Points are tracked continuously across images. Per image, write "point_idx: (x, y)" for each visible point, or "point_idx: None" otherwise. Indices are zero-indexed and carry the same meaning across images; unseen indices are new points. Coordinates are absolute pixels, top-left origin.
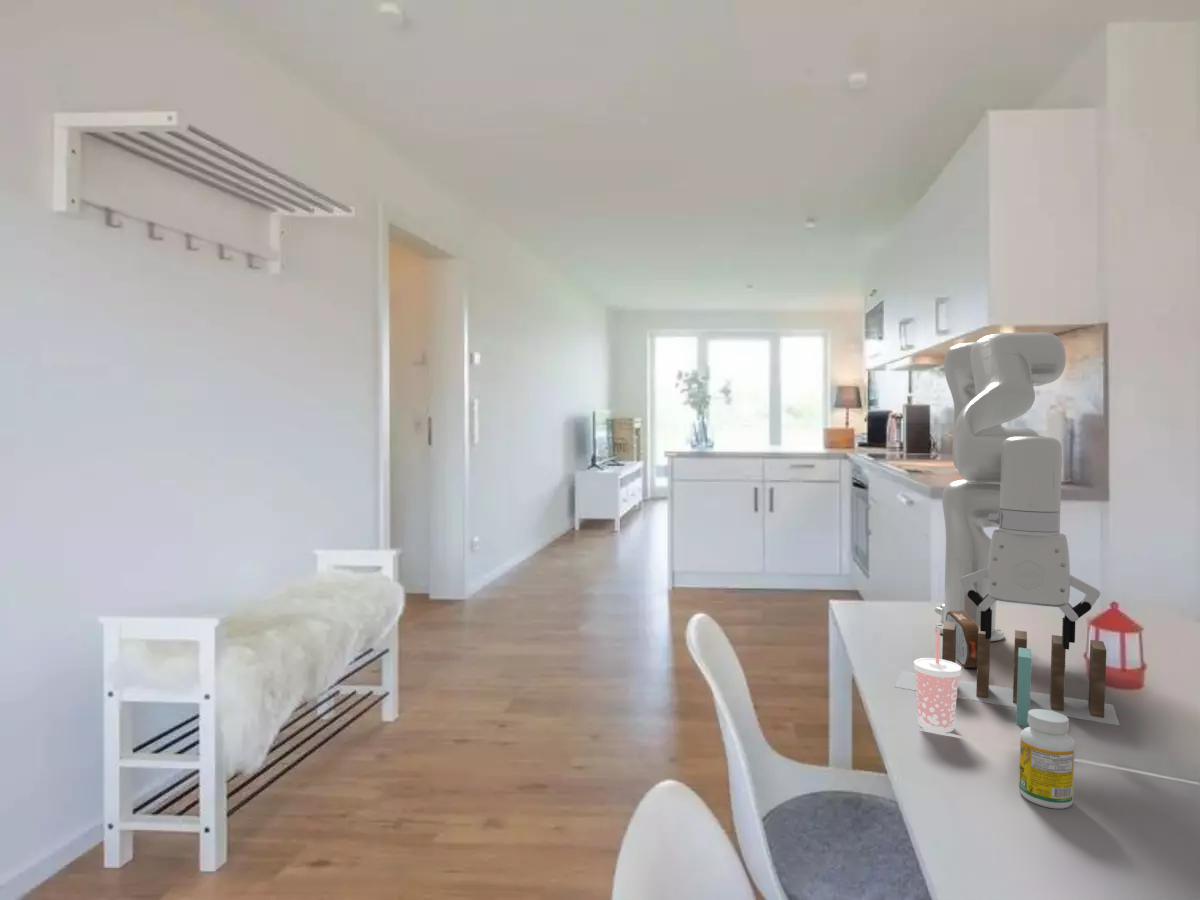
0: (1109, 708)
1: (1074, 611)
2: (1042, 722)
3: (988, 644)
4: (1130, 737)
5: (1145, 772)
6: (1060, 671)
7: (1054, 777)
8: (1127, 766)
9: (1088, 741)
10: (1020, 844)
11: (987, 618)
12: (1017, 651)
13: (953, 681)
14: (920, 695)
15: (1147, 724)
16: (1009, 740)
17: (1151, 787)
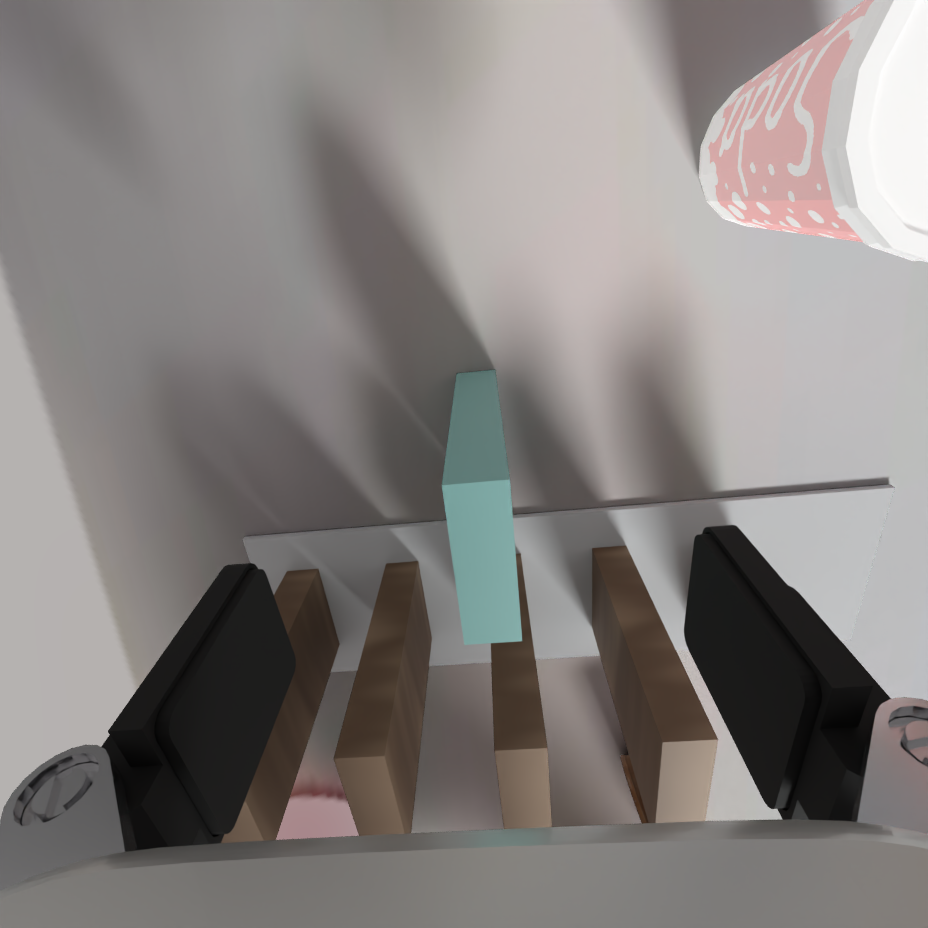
0: None
1: (2, 857)
2: None
3: (650, 697)
4: (205, 477)
5: (92, 188)
6: (375, 655)
7: None
8: (147, 208)
9: (288, 369)
10: None
11: (811, 629)
12: (527, 692)
13: (861, 19)
14: None
15: (197, 597)
16: (503, 202)
17: (34, 36)
